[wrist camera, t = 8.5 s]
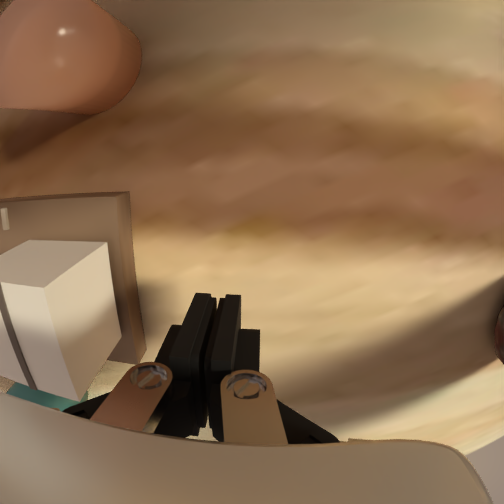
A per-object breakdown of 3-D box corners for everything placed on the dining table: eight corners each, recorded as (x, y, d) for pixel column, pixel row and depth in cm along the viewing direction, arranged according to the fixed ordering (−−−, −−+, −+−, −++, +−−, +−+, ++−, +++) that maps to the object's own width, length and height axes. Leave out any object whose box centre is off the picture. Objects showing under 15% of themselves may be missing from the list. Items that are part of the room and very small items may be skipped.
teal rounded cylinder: (26, 348, 18) (-18, 397, 12) (77, 361, 18) (35, 420, 12) (46, 397, 20) (12, 446, 14) (95, 411, 19) (65, 469, 14)
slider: (28, 239, 13) (-38, 276, 8) (107, 242, 13) (42, 289, 8) (47, 324, 15) (-3, 376, 10) (121, 336, 15) (78, 403, 10)
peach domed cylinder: (63, 35, 11) (-8, 7, 6) (146, 16, 11) (91, -37, 6) (55, 120, 13) (-26, 120, 7) (138, 108, 13) (68, 92, 7)
